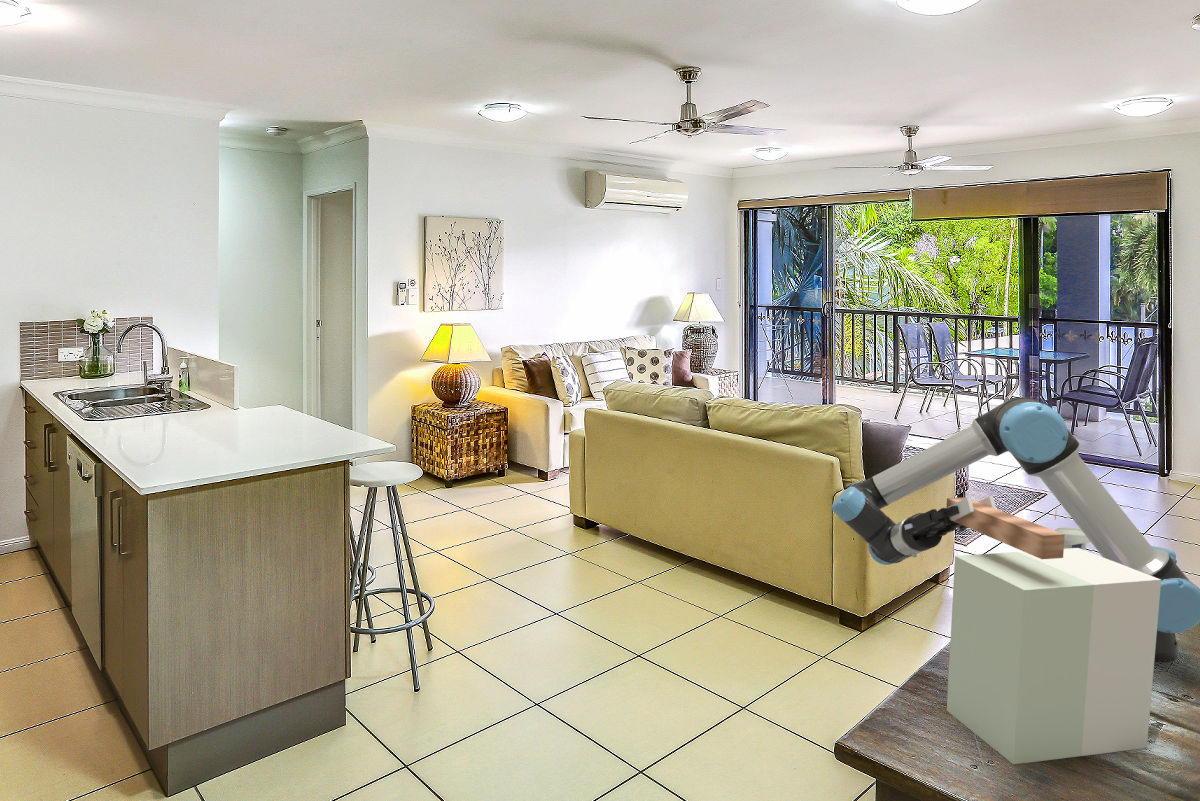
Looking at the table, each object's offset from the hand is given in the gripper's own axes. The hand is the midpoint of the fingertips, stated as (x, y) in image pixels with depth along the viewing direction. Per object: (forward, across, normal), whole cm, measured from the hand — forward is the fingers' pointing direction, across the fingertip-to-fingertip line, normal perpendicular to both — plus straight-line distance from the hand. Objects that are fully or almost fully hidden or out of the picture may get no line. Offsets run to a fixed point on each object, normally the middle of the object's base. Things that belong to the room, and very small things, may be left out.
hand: (981, 503), depth 149 cm
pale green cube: (-9, -6, -39) cm, 41 cm away
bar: (+2, 0, -7) cm, 7 cm away
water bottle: (-54, -56, -14) cm, 79 cm away
